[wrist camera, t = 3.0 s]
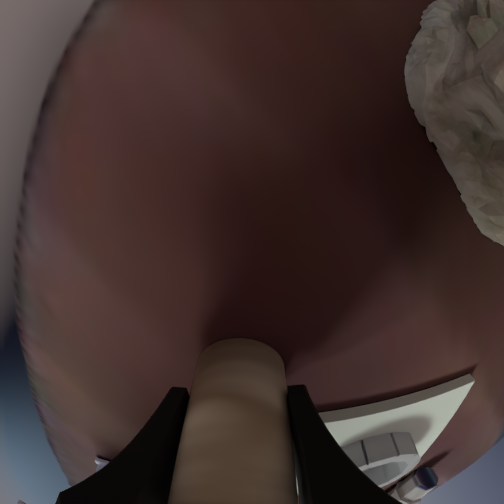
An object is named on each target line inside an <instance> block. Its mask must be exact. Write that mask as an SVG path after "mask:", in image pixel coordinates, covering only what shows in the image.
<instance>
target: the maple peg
mask: <svg viewBox="0 0 504 504" xmlns="http://www.w3.org/2000/svg"><path fill="white" fill-rule="evenodd" d="M168 504H298V493H297V482H296V471H295V461H294V451H293V441H292V431H291V422H290V414H289V405H288V394H287V385H286V377H285V368H284V363H283V360H282V358H281V356H280V355H279V354H278V353H277V352H276V351H275V350H274V349H273V348H271V347H270V346H268V345H266V344H264V343H262V342H259V341H256V340H252V339H245V338H231V339H225V340H221V341H218V342H216V343H213V344H212V345H210V346H208V347H207V348H206V349H205V350H204V351H203V352H202V353H201V354H200V356H199V358H198V362H197V366H196V370H195V374H194V379H193V383H192V388H191V392H190V397H189V401H188V406H187V410H186V415H185V419H184V424H183V429H182V433H181V438H180V443H179V448H178V453H177V458H176V463H175V468H174V473H173V478H172V483H171V488H170V494H169V499H168Z"/></svg>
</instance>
